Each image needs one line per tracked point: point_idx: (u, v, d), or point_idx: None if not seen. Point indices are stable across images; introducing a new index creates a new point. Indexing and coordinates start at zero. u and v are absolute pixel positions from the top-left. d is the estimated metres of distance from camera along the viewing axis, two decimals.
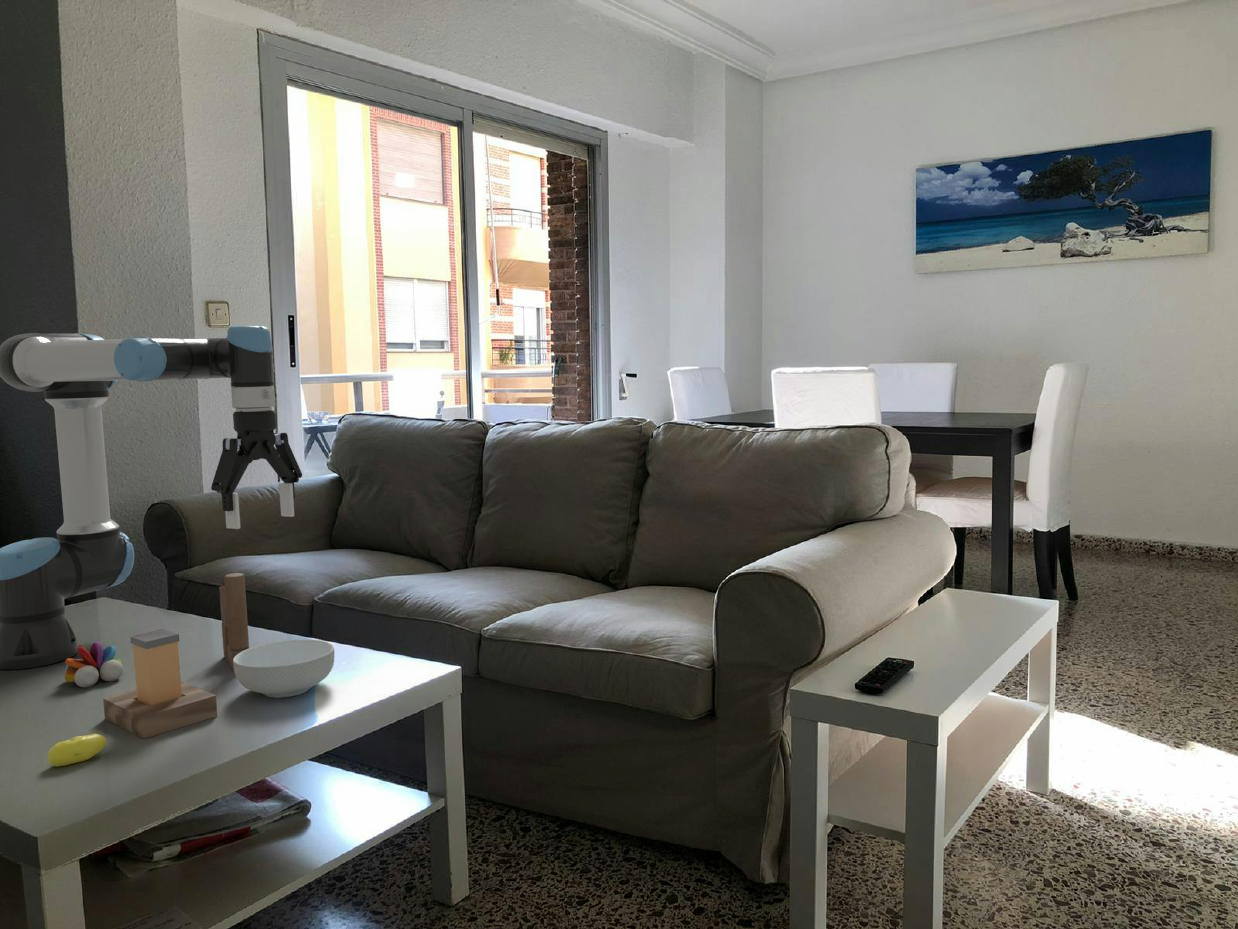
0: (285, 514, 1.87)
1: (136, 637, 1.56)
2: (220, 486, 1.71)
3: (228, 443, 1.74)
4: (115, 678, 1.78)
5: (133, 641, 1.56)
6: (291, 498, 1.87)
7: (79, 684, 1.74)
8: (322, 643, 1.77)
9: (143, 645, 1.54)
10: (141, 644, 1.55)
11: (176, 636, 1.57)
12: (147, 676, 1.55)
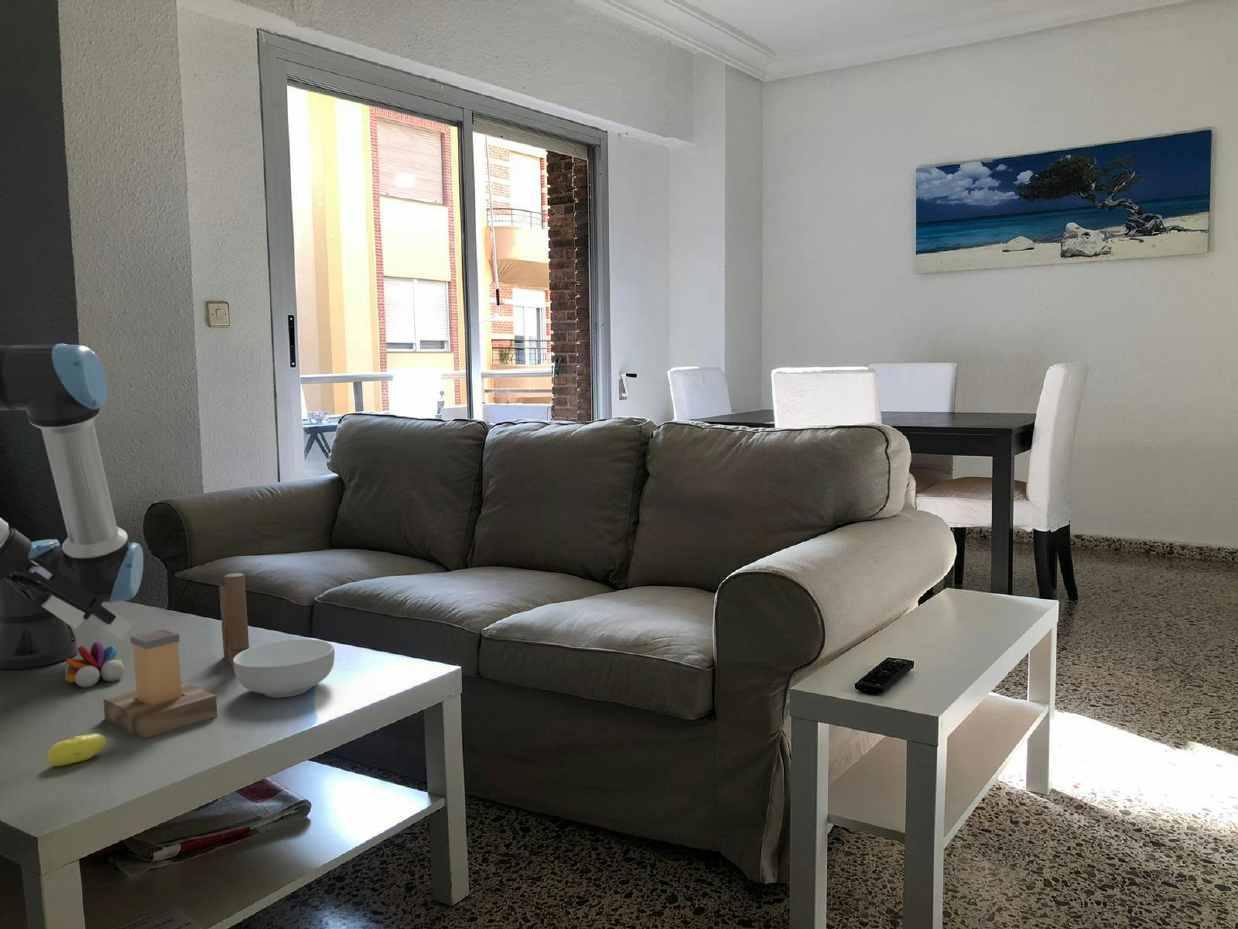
0: None
1: (136, 637, 1.56)
2: None
3: None
4: (116, 678, 1.78)
5: (133, 641, 1.56)
6: (101, 626, 1.44)
7: (80, 684, 1.74)
8: (322, 643, 1.77)
9: (143, 645, 1.54)
10: (141, 644, 1.55)
11: (176, 636, 1.57)
12: (147, 676, 1.55)
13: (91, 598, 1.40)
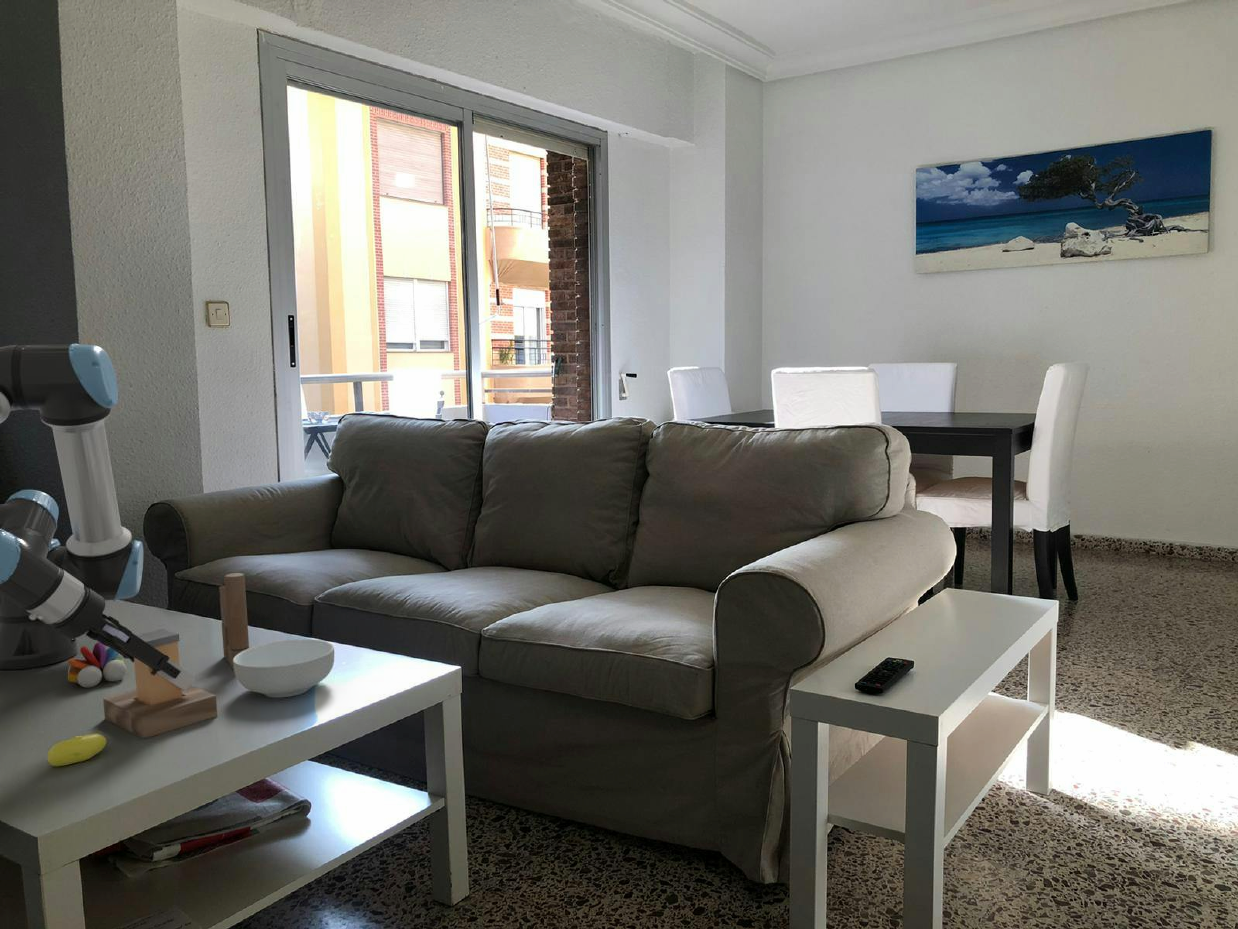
0: None
1: None
2: (123, 654, 1.60)
3: None
4: (118, 678, 1.77)
5: None
6: None
7: (82, 684, 1.73)
8: (322, 643, 1.76)
9: None
10: None
11: (176, 636, 1.57)
12: (147, 676, 1.55)
13: (160, 658, 1.52)
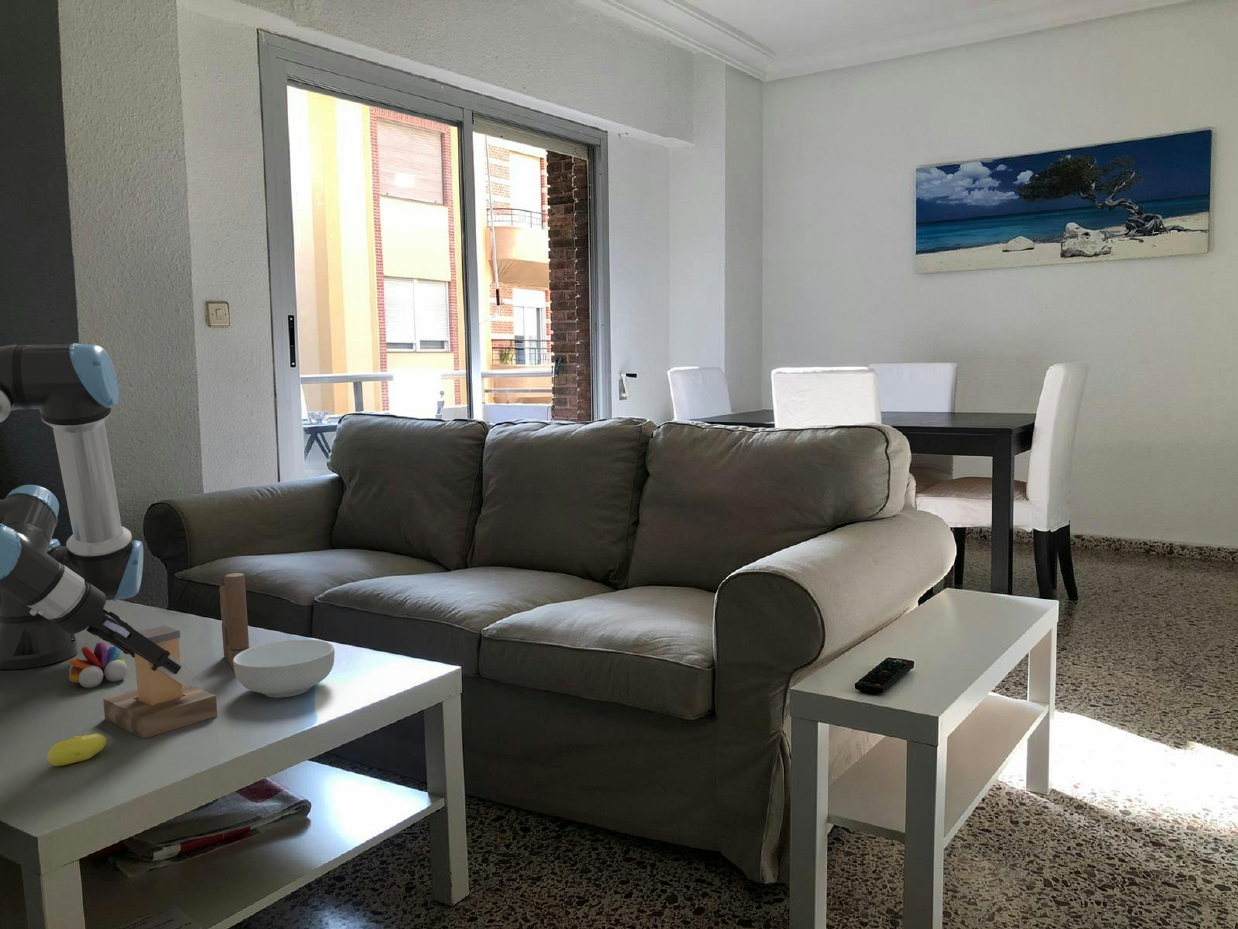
0: None
1: None
2: (124, 650, 1.59)
3: None
4: (119, 678, 1.77)
5: None
6: (168, 675, 1.56)
7: (84, 684, 1.73)
8: (322, 643, 1.77)
9: None
10: None
11: (177, 632, 1.57)
12: (148, 673, 1.55)
13: (160, 653, 1.52)
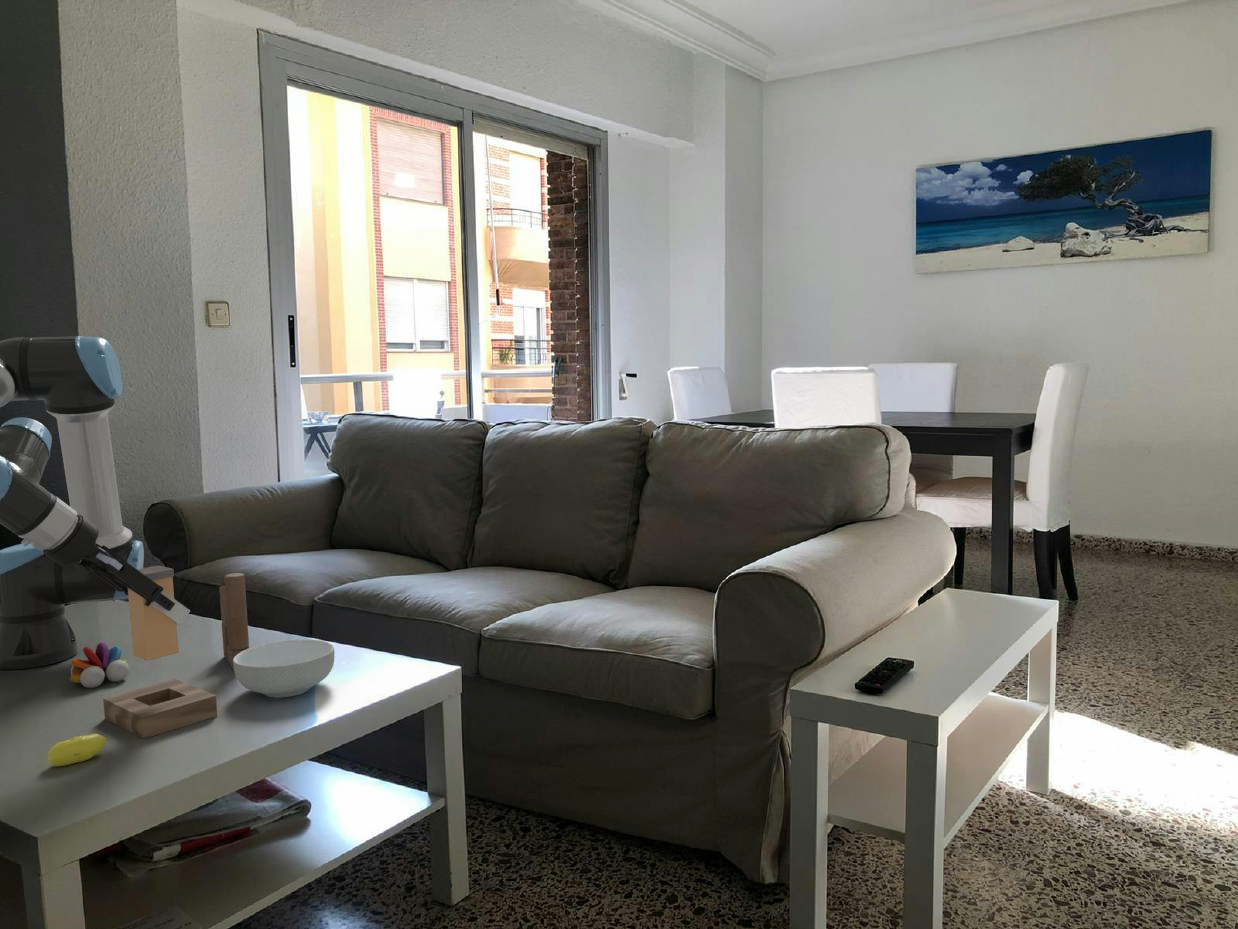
0: None
1: None
2: (117, 588, 1.58)
3: None
4: (121, 678, 1.77)
5: None
6: (161, 612, 1.55)
7: (85, 684, 1.73)
8: (322, 643, 1.77)
9: None
10: None
11: (171, 571, 1.56)
12: (142, 611, 1.54)
13: (154, 588, 1.51)
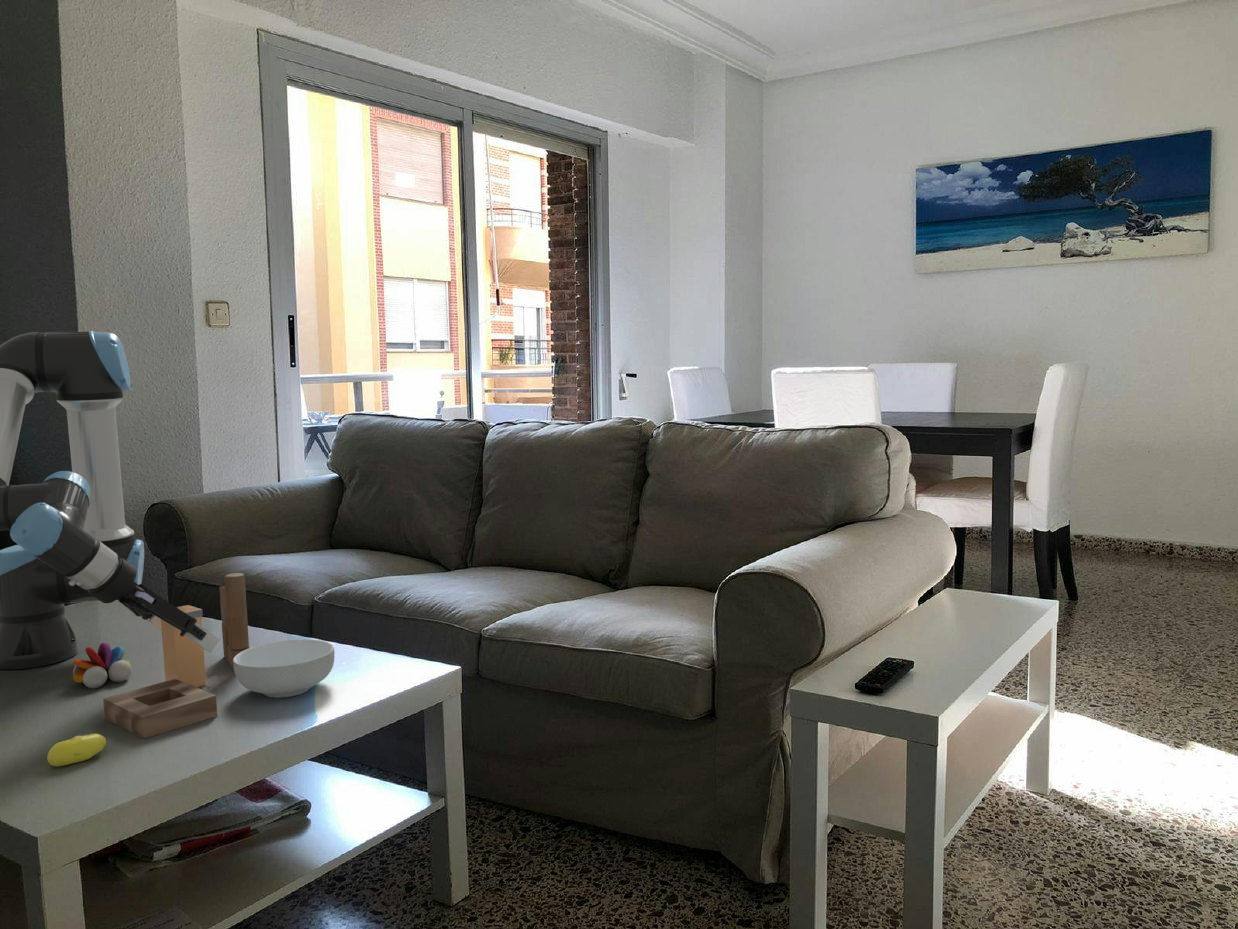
0: None
1: None
2: (135, 612, 1.76)
3: None
4: (123, 679, 1.77)
5: None
6: (194, 641, 1.69)
7: (88, 685, 1.73)
8: (322, 643, 1.76)
9: None
10: None
11: (200, 611, 1.73)
12: (174, 647, 1.70)
13: (186, 619, 1.64)
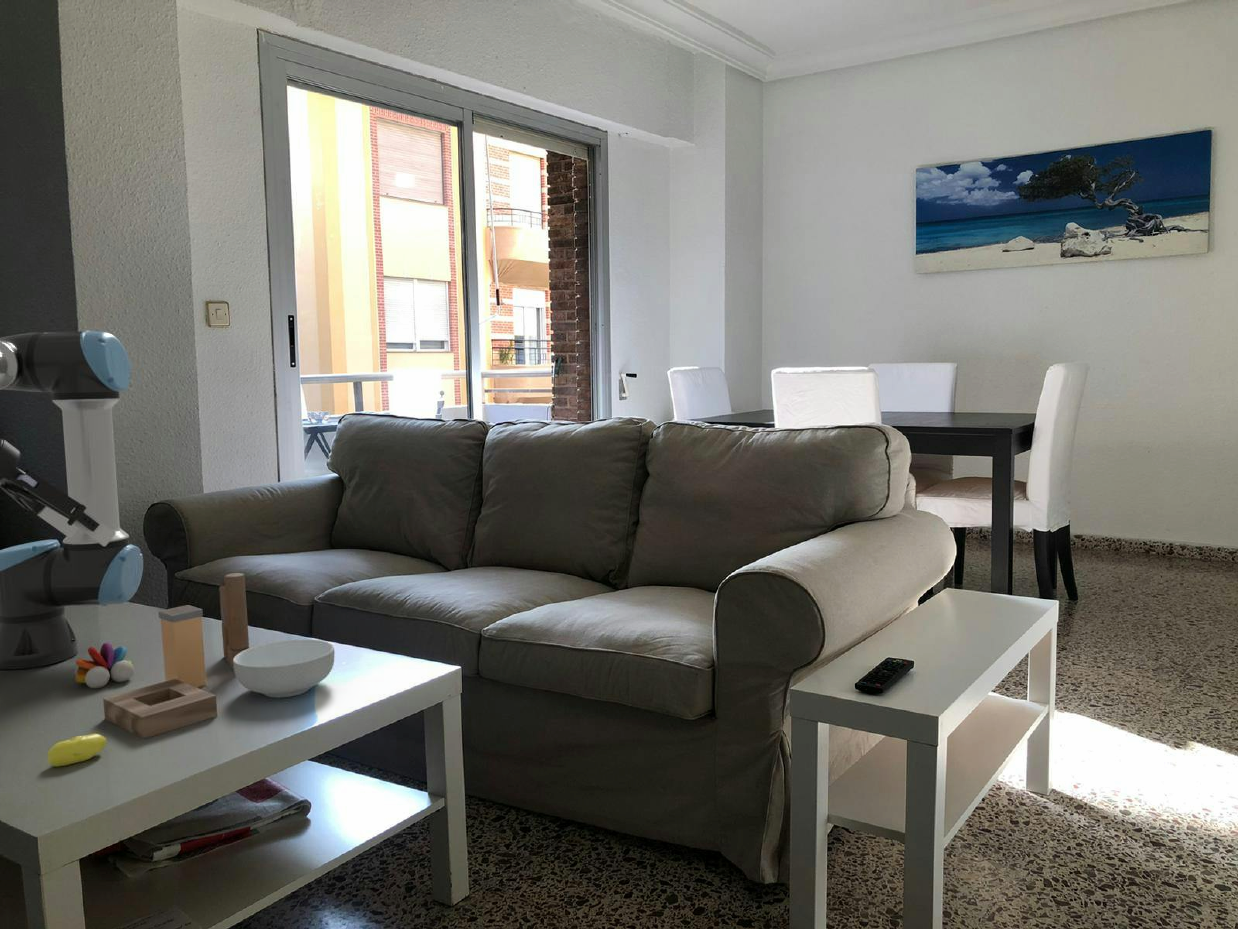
0: None
1: (164, 612, 1.72)
2: None
3: None
4: (126, 679, 1.77)
5: (161, 615, 1.72)
6: (86, 533, 1.54)
7: (90, 685, 1.73)
8: (322, 643, 1.77)
9: (170, 619, 1.70)
10: (169, 618, 1.70)
11: (200, 611, 1.73)
12: (174, 647, 1.70)
13: (73, 505, 1.50)
